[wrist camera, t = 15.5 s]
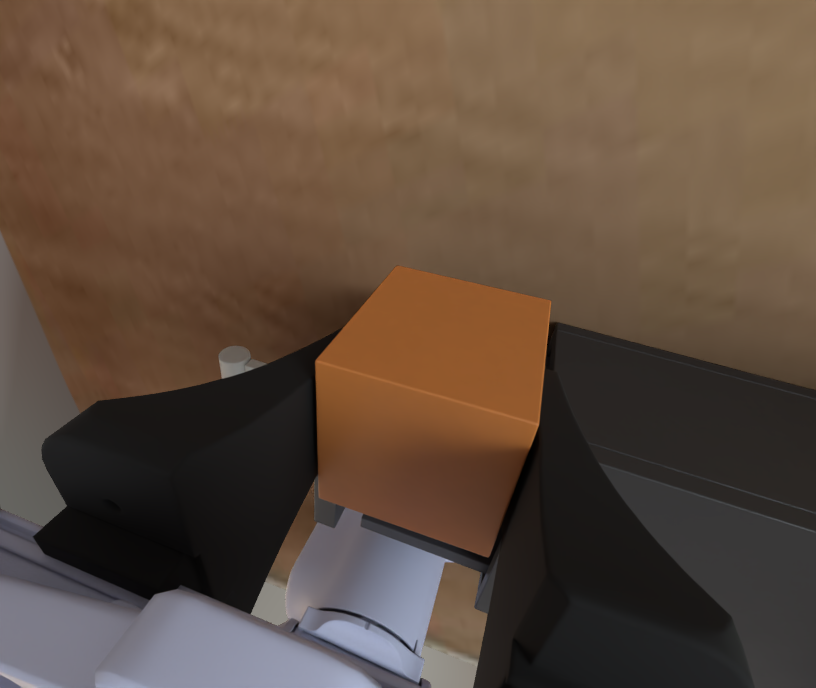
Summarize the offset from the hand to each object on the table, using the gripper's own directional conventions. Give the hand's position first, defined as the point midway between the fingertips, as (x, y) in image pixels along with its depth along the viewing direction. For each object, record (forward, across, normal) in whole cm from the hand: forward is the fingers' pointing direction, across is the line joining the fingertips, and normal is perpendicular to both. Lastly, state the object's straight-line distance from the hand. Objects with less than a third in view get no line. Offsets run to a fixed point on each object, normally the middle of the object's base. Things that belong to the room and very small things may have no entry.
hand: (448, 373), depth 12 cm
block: (+1, 0, 0) cm, 1 cm away
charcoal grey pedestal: (+10, -10, +9) cm, 17 cm away
